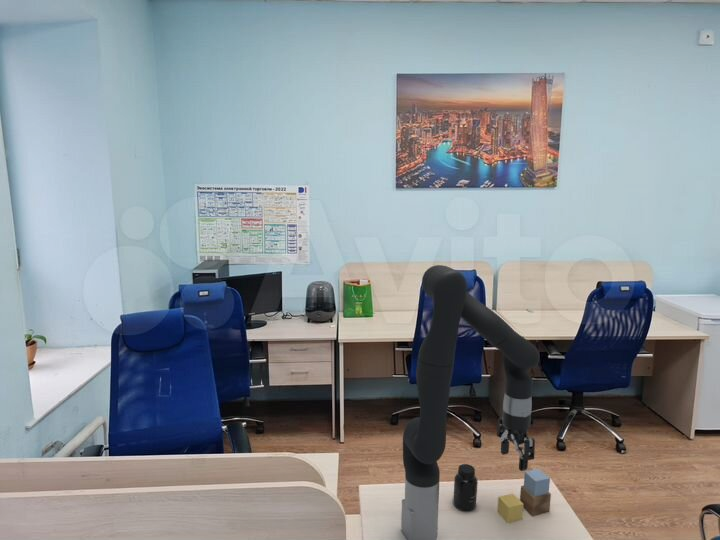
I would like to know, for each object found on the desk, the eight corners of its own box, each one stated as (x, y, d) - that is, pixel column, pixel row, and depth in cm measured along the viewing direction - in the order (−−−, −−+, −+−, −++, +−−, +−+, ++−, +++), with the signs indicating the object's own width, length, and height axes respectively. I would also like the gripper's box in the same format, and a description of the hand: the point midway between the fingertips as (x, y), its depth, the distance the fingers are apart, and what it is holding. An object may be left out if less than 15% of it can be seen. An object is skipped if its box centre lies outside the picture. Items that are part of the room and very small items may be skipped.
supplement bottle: (476, 513, 147) (478, 476, 145) (452, 510, 148) (454, 473, 146) (476, 498, 154) (477, 463, 151) (453, 495, 155) (455, 460, 153)
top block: (507, 523, 143) (508, 507, 142) (497, 511, 148) (498, 496, 147) (522, 519, 145) (523, 503, 144) (511, 508, 149) (512, 493, 148)
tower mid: (534, 496, 145) (535, 481, 144) (523, 486, 150) (524, 471, 149) (548, 493, 147) (549, 478, 146) (537, 483, 152) (538, 468, 151)
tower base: (532, 516, 146) (533, 498, 145) (519, 503, 151) (520, 485, 150) (549, 512, 148) (551, 494, 147) (536, 499, 153) (537, 482, 152)
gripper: (491, 400, 145) (488, 450, 148) (521, 423, 132) (517, 478, 135) (513, 396, 148) (509, 446, 151) (545, 418, 134) (540, 473, 137)
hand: (513, 461), depth 143 cm, fingers open, 8 cm apart
